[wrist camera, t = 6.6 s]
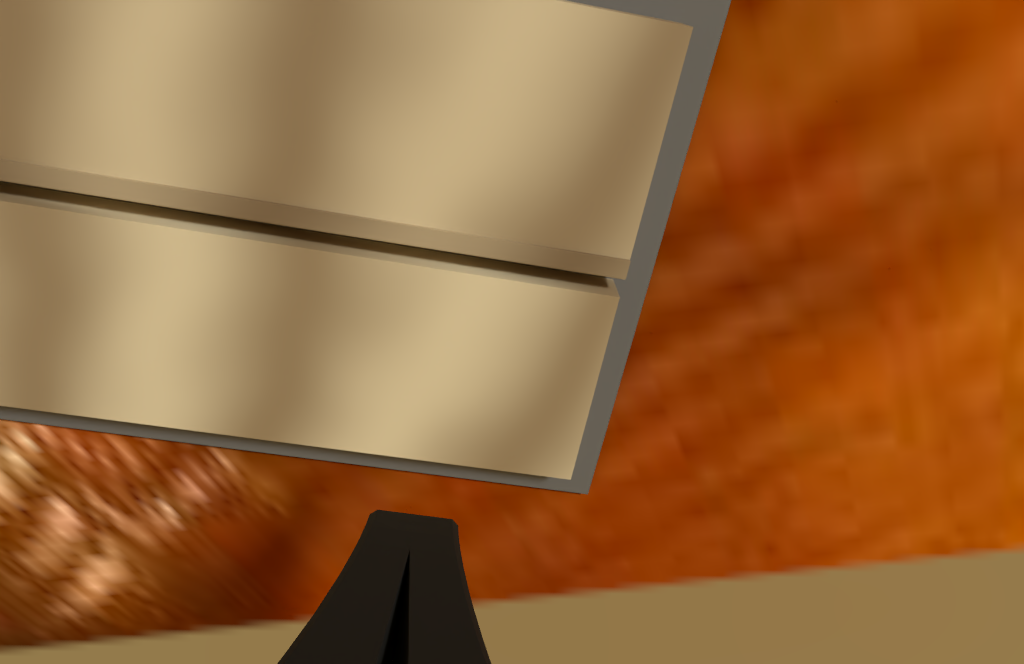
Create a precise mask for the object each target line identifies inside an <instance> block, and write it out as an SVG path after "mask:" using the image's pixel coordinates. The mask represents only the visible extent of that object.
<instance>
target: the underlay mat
mask: <svg viewBox="0 0 1024 664" xmlns="http://www.w3.org/2000/svg"><path fill="white" fill-rule="evenodd" d="M567 1H572V2H577V3H582V4H587V5H592V6H597V7H602V8H608V9H613V10H618V11H623V12H628V13H633V14H638V15H643V16H649V17H654V18H659V19H664V20H669V21H674V22H679V23H683V24H686V25H689V26H692V27H693V30H692V34H691V38H690V41H689V45H688V49H687V52H686V56H685V60H684V63H683V67H682V71H681V74H680V78H679V82H678V85H677V89H676V93H675V96H674V100H673V104H672V107H671V111H670V115H669V118H668V122H667V126H666V130H665V133H664V137H663V141H662V144H661V148H660V152H659V155H658V159H657V163H656V166H655V170H654V174H653V177H652V181H651V185H650V188H649V192H648V196H647V199H646V203H645V207H644V210H643V214H642V218H641V221H640V225H639V229H638V232H637V236H636V240H635V243H634V247H633V251H632V254H631V258H630V261H631V262H630V266H629V269H628V273H627V277H626V279H625V280H623V279H617V278H611V277H604V276H598V275H592V274H585V273H579V272H573V271H567V270H560V269H554V268H548V267H541V266H535V265H529V264H522V263H516V262H510V261H503V260H497V259H491V258H484V257H478V256H472V255H465V254H459V253H453V252H447V251H440V250H434V249H428V248H421V247H415V246H409V245H402V244H396V243H390V242H383V241H377V240H371V239H364V238H358V237H352V236H345V235H339V234H333V233H327V232H320V231H314V230H308V229H301V228H295V227H289V226H282V225H276V224H270V223H263V222H257V221H251V220H244V219H238V218H232V217H225V216H219V215H213V214H207V213H200V212H194V211H188V210H181V209H175V208H169V207H162V206H156V205H150V204H143V203H137V202H131V201H124V200H118V199H112V198H106V197H99V196H93V195H87V194H80V193H74V192H68V191H61V190H55V189H49V188H42V187H36V186H30V185H23V184H17V183H11V182H4V181H0V182H2V183H8V184H15V185H21V186H27V187H34V188H40V189H46V190H53V191H59V192H65V193H72V194H78V195H84V196H91V197H97V198H103V199H110V200H116V201H122V202H129V203H135V204H141V205H148V206H154V207H160V208H167V209H173V210H179V211H185V212H192V213H198V214H204V215H211V216H217V217H223V218H230V219H236V220H242V221H249V222H255V223H261V224H268V225H274V226H280V227H287V228H293V229H299V230H306V231H312V232H318V233H325V234H331V235H337V236H344V237H350V238H356V239H362V240H369V241H375V242H381V243H388V244H394V245H400V246H407V247H413V248H419V249H426V250H432V251H438V252H445V253H451V254H457V255H464V256H470V257H476V258H483V259H489V260H495V261H502V262H508V263H514V264H521V265H527V266H533V267H539V268H546V269H552V270H558V271H565V272H571V273H577V274H584V275H590V276H596V277H603V278H609V279H613V280H614V283H615V286H616V288H617V291H618V294H619V296H620V299H619V302H618V306H617V310H616V314H615V317H614V321H613V325H612V328H611V332H610V336H609V340H608V343H607V347H606V351H605V354H604V358H603V362H602V366H601V369H600V373H599V377H598V380H597V384H596V388H595V392H594V395H593V399H592V403H591V406H590V410H589V414H588V418H587V421H586V425H585V429H584V432H583V436H582V440H581V444H580V447H579V451H578V455H577V459H576V462H575V466H574V470H573V473H572V477H571V480H569V479H561V478H553V477H546V476H538V475H530V474H522V473H515V472H507V471H499V470H492V469H484V468H476V467H469V466H461V465H453V464H445V463H438V462H430V461H422V460H415V459H407V458H399V457H392V456H384V455H376V454H369V453H361V452H353V451H345V450H338V449H330V448H322V447H315V446H307V445H299V444H292V443H284V442H276V441H268V440H261V439H253V438H245V437H238V436H230V435H222V434H215V433H207V432H199V431H191V430H184V429H176V428H168V427H161V426H153V425H145V424H138V423H130V422H122V421H114V420H107V419H99V418H91V417H84V416H76V415H68V414H61V413H53V412H45V411H37V410H30V409H22V408H14V407H7V406H0V419H5V420H13V421H21V422H29V423H36V424H44V425H52V426H60V427H68V428H75V429H83V430H91V431H99V432H107V433H114V434H122V435H130V436H138V437H145V438H153V439H161V440H169V441H177V442H184V443H192V444H200V445H208V446H216V447H223V448H231V449H239V450H247V451H255V452H262V453H270V454H278V455H286V456H294V457H301V458H309V459H317V460H325V461H333V462H340V463H348V464H356V465H364V466H372V467H379V468H387V469H395V470H403V471H411V472H418V473H426V474H434V475H442V476H450V477H457V478H465V479H473V480H481V481H489V482H496V483H504V484H512V485H520V486H528V487H535V488H543V489H551V490H559V491H567V492H574V493H582V494H588V492H589V488H590V485H591V481H592V478H593V474H594V471H595V467H596V464H597V461H598V457H599V454H600V450H601V447H602V443H603V440H604V436H605V433H606V430H607V426H608V423H609V419H610V416H611V412H612V409H613V405H614V402H615V399H616V395H617V392H618V388H619V385H620V381H621V378H622V374H623V371H624V368H625V364H626V361H627V357H628V354H629V350H630V347H631V343H632V340H633V337H634V333H635V330H636V326H637V323H638V319H639V316H640V312H641V309H642V306H643V302H644V299H645V295H646V292H647V288H648V285H649V281H650V278H651V275H652V271H653V268H654V264H655V261H656V257H657V254H658V250H659V247H660V244H661V240H662V237H663V233H664V230H665V226H666V223H667V219H668V216H669V213H670V209H671V206H672V202H673V199H674V195H675V192H676V188H677V185H678V182H679V178H680V175H681V171H682V168H683V164H684V161H685V157H686V154H687V151H688V147H689V144H690V140H691V137H692V133H693V130H694V126H695V123H696V120H697V116H698V113H699V109H700V106H701V102H702V99H703V95H704V92H705V89H706V85H707V82H708V78H709V75H710V71H711V68H712V64H713V61H714V58H715V54H716V51H717V47H718V44H719V40H720V37H721V33H722V30H723V27H724V23H725V20H726V16H727V13H728V9H729V6H730V2H731V0H567Z"/></svg>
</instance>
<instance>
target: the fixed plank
mask: <svg viewBox="0 0 1024 664" xmlns="http://www.w3.org/2000/svg"><path fill="white" fill-rule="evenodd" d="M692 30H693V27H692V26H689V25H686V24H683V23H679V22H674V21H669V20H664V19H659V18H654V17H649V16H643V15H638V14H633V13H628V12H623V11H618V10H613V9H608V8H602V7H597V6H592V5H587V4H582V3H577V2H572V1H567V0H0V181H4V182H11V183H17V184H23V185H30V186H36V187H42V188H49V189H55V190H61V191H68V192H74V193H80V194H87V195H93V196H99V197H106V198H112V199H118V200H124V201H131V202H137V203H143V204H150V205H156V206H162V207H169V208H175V209H181V210H188V211H194V212H200V213H207V214H213V215H219V216H225V217H232V218H238V219H244V220H251V221H257V222H263V223H270V224H276V225H282V226H289V227H295V228H301V229H308V230H314V231H320V232H327V233H333V234H339V235H345V236H352V237H358V238H364V239H371V240H377V241H383V242H390V243H396V244H402V245H409V246H415V247H421V248H428V249H434V250H440V251H447V252H453V253H459V254H465V255H472V256H478V257H484V258H491V259H497V260H503V261H510V262H516V263H522V264H529V265H535V266H541V267H548V268H554V269H560V270H567V271H573V272H579V273H585V274H592V275H598V276H604V277H611V278H617V279H623V280H625V279H626V277H627V273H628V269H629V266H630V262H631V261H630V258H631V254H632V251H633V247H634V243H635V240H636V236H637V232H638V229H639V225H640V221H641V218H642V214H643V210H644V207H645V203H646V199H647V196H648V192H649V188H650V185H651V181H652V177H653V174H654V170H655V166H656V163H657V159H658V155H659V152H660V148H661V144H662V141H663V137H664V133H665V130H666V126H667V122H668V118H669V115H670V111H671V107H672V104H673V100H674V96H675V93H676V89H677V85H678V82H679V78H680V74H681V71H682V67H683V63H684V60H685V56H686V52H687V49H688V45H689V41H690V38H691V34H692Z"/></svg>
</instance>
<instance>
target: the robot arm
mask: <svg viewBox="0 0 1024 664" xmlns="http://www.w3.org/2000/svg"><path fill="white" fill-rule="evenodd" d="M278 664H491V662H490V659H489V656H488V653H487V650H486V647H485V644H484V641H483V638H482V635H481V632H480V628H479V625H478V622H477V618H476V615H475V612H474V608H473V605H472V601H471V597H470V594H469V590H468V585H467V581H466V577H465V572H464V568H463V563H462V557H461V551H460V544H459V536H458V525H457V524H456V523H455V522H454V521H453V519H446V518H438V517H430V516H422V515H414V514H406V513H399V512H391V511H383V510H377V511H375V512H373V513H371V514H370V515H369V518H368V521H367V523H366V526H365V528H364V530H363V533H362V535H361V537H360V539H359V541H358V543H357V545H356V547H355V549H354V550H353V552H352V554H351V556H350V558H349V559H348V561H347V563H346V565H345V566H344V568H343V570H342V571H341V573H340V575H339V576H338V578H337V580H336V581H335V583H334V584H333V586H332V587H331V589H330V590H329V592H328V593H327V595H326V597H325V598H324V600H323V601H322V603H321V604H320V606H319V607H318V609H317V610H316V612H315V613H314V615H313V616H312V618H311V619H310V620H309V622H308V623H307V625H306V626H305V627H304V629H303V630H302V631H301V633H300V634H299V635H298V637H297V638H296V640H295V641H294V642H293V644H292V645H291V646H290V648H289V649H288V650H287V652H286V653H285V655H284V656H283V657H282V658H281V660H280V661H279V662H278Z"/></svg>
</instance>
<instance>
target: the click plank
mask: <svg viewBox="0 0 1024 664" xmlns="http://www.w3.org/2000/svg"><path fill="white" fill-rule="evenodd" d="M619 299H620V296H619V294H618V291H617V288H616V286H615V283H614V280H613V279H609V278H603V277H596V276H590V275H584V274H577V273H571V272H565V271H558V270H552V269H546V268H539V267H533V266H527V265H521V264H514V263H508V262H502V261H495V260H489V259H483V258H476V257H470V256H464V255H457V254H451V253H445V252H438V251H432V250H426V249H419V248H413V247H407V246H400V245H394V244H388V243H381V242H375V241H369V240H362V239H356V238H350V237H344V236H337V235H331V234H325V233H318V232H312V231H306V230H299V229H293V228H287V227H280V226H274V225H268V224H261V223H255V222H249V221H242V220H236V219H230V218H223V217H217V216H211V215H204V214H198V213H192V212H185V211H179V210H173V209H167V208H160V207H154V206H148V205H141V204H135V203H129V202H122V201H116V200H110V199H103V198H97V197H91V196H84V195H78V194H72V193H65V192H59V191H53V190H46V189H40V188H34V187H27V186H21V185H15V184H8V183H2V182H0V406H7V407H14V408H22V409H30V410H37V411H45V412H53V413H61V414H68V415H76V416H84V417H91V418H99V419H107V420H114V421H122V422H130V423H138V424H145V425H153V426H161V427H168V428H176V429H184V430H191V431H199V432H207V433H215V434H222V435H230V436H238V437H245V438H253V439H261V440H268V441H276V442H284V443H292V444H299V445H307V446H315V447H322V448H330V449H338V450H345V451H353V452H361V453H369V454H376V455H384V456H392V457H399V458H407V459H415V460H422V461H430V462H438V463H445V464H453V465H461V466H469V467H476V468H484V469H492V470H499V471H507V472H515V473H522V474H530V475H538V476H546V477H553V478H561V479H569V480H571V477H572V473H573V470H574V466H575V462H576V459H577V455H578V451H579V447H580V444H581V440H582V436H583V432H584V429H585V425H586V421H587V418H588V414H589V410H590V406H591V403H592V399H593V395H594V392H595V388H596V384H597V380H598V377H599V373H600V369H601V366H602V362H603V358H604V354H605V351H606V347H607V343H608V340H609V336H610V332H611V328H612V325H613V321H614V317H615V314H616V310H617V306H618V302H619Z"/></svg>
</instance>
